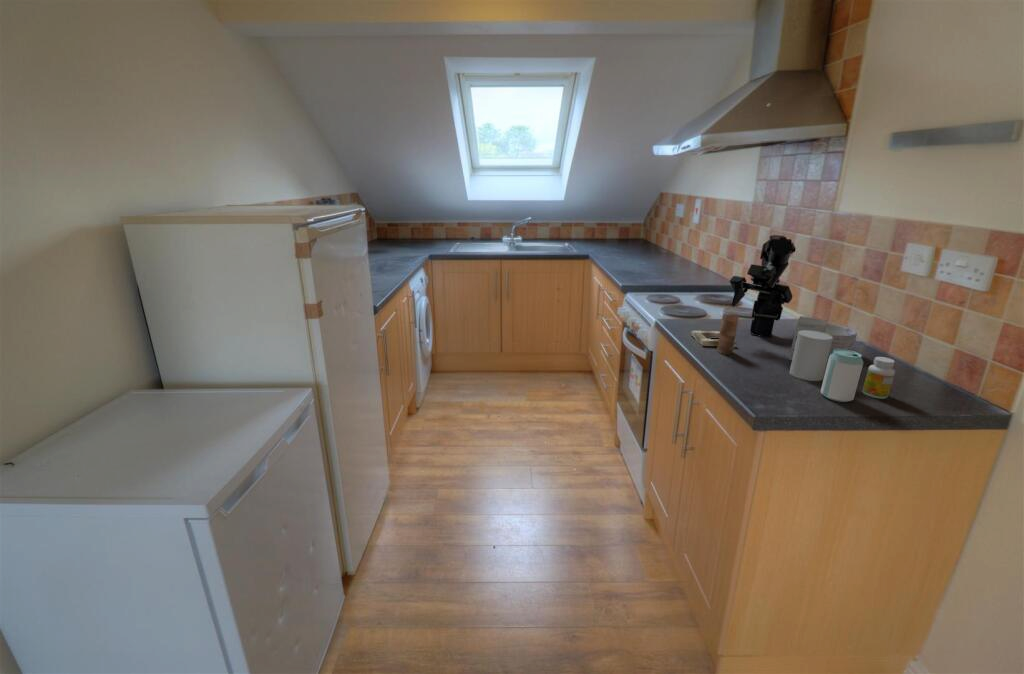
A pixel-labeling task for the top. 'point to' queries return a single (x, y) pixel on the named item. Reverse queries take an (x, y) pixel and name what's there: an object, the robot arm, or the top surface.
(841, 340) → the paper bowls
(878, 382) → the supplement bottle
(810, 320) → the supplement box
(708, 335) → the birch hole board
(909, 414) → the top surface
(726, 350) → the cherry wood peg
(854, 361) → the can
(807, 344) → the cup
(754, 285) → the robot arm
